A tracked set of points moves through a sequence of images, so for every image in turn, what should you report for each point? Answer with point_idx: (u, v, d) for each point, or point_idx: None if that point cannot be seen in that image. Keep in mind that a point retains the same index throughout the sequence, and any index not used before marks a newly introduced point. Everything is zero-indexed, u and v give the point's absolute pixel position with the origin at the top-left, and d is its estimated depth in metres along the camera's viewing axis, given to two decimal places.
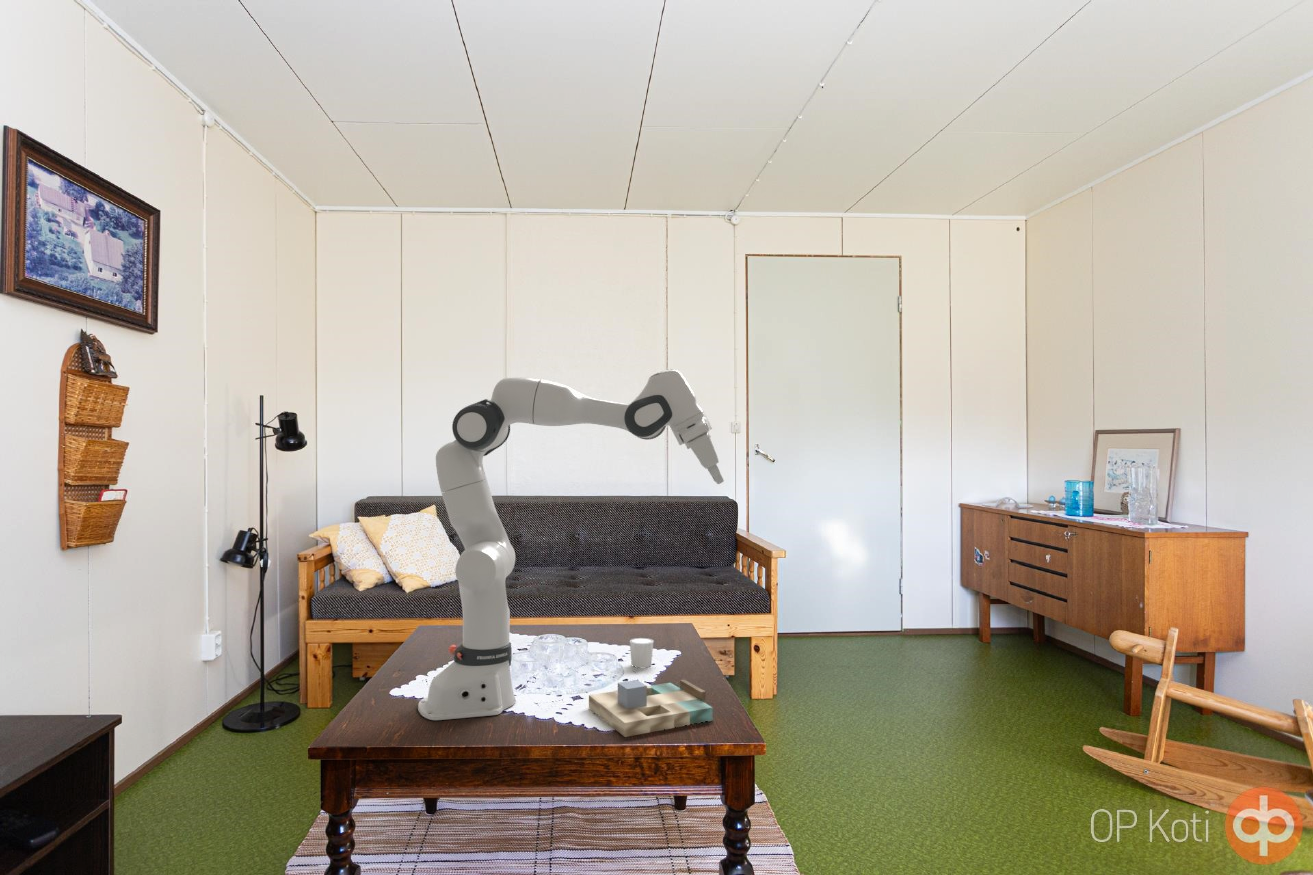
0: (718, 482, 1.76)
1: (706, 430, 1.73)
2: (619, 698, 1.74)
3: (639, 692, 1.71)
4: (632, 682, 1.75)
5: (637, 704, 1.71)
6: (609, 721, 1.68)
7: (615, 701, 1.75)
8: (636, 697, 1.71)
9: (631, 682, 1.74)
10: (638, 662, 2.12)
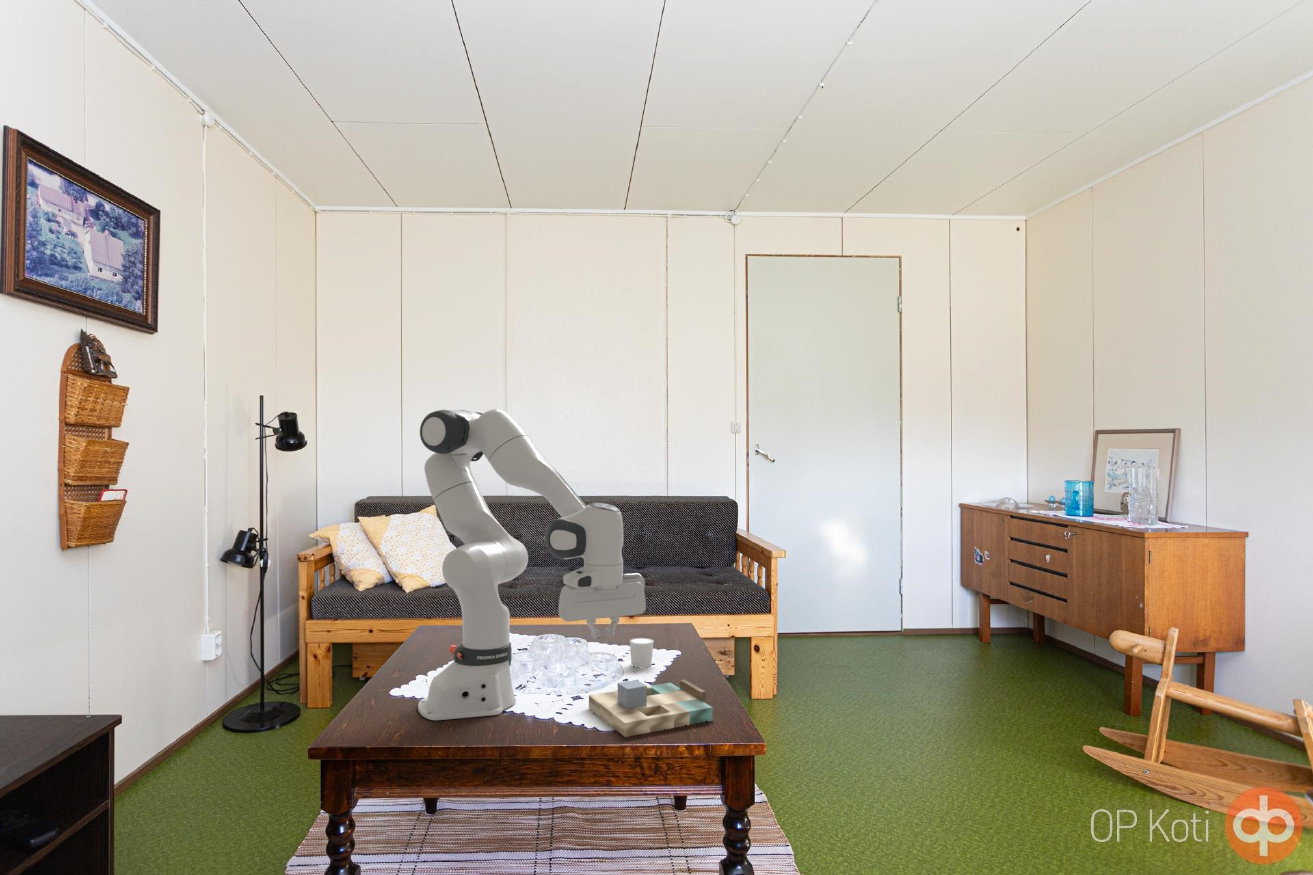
0: (591, 636, 1.69)
1: (572, 586, 1.64)
2: (619, 698, 1.74)
3: (639, 692, 1.71)
4: (632, 682, 1.75)
5: (637, 704, 1.71)
6: (609, 721, 1.68)
7: (615, 701, 1.75)
8: (636, 697, 1.71)
9: (631, 682, 1.74)
10: (638, 662, 2.12)
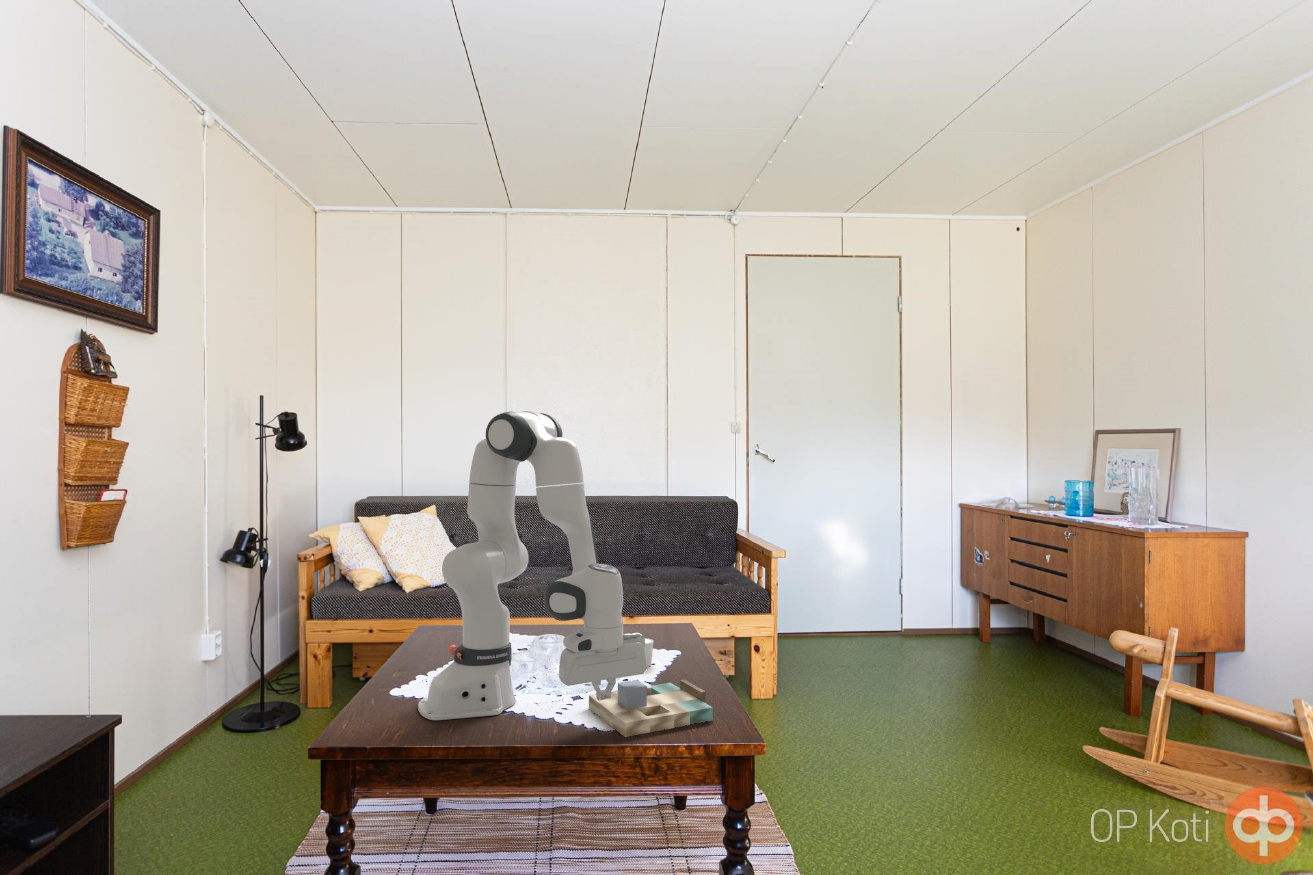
0: (597, 697, 1.69)
1: (572, 650, 1.64)
2: (619, 698, 1.74)
3: (639, 692, 1.71)
4: (632, 682, 1.75)
5: (637, 704, 1.71)
6: (609, 721, 1.68)
7: (615, 701, 1.75)
8: (636, 697, 1.71)
9: (631, 682, 1.74)
10: None
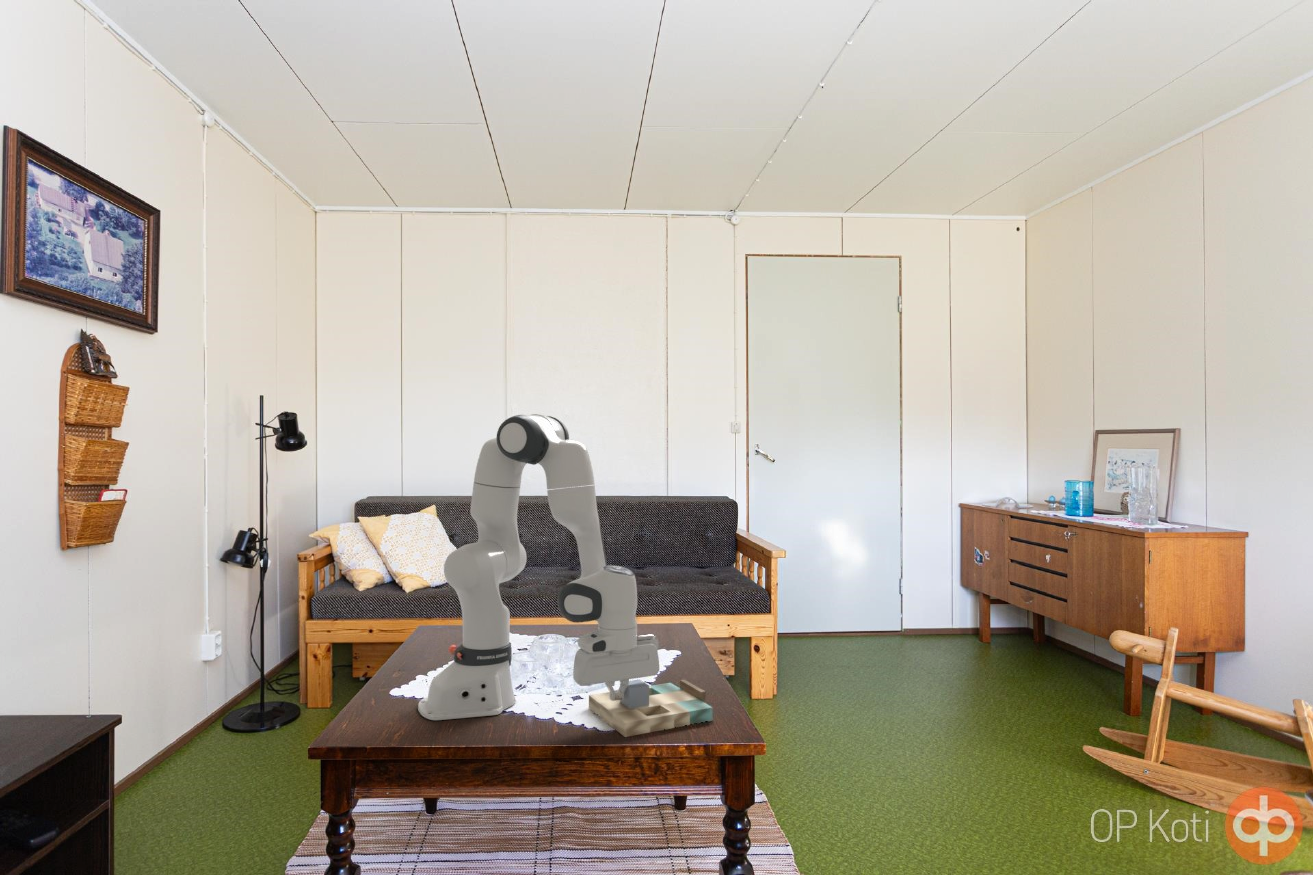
0: (610, 697, 1.71)
1: (587, 651, 1.65)
2: None
3: (642, 692, 1.72)
4: (635, 682, 1.75)
5: (639, 704, 1.71)
6: (609, 721, 1.68)
7: (615, 701, 1.75)
8: (638, 696, 1.71)
9: (633, 682, 1.75)
10: None
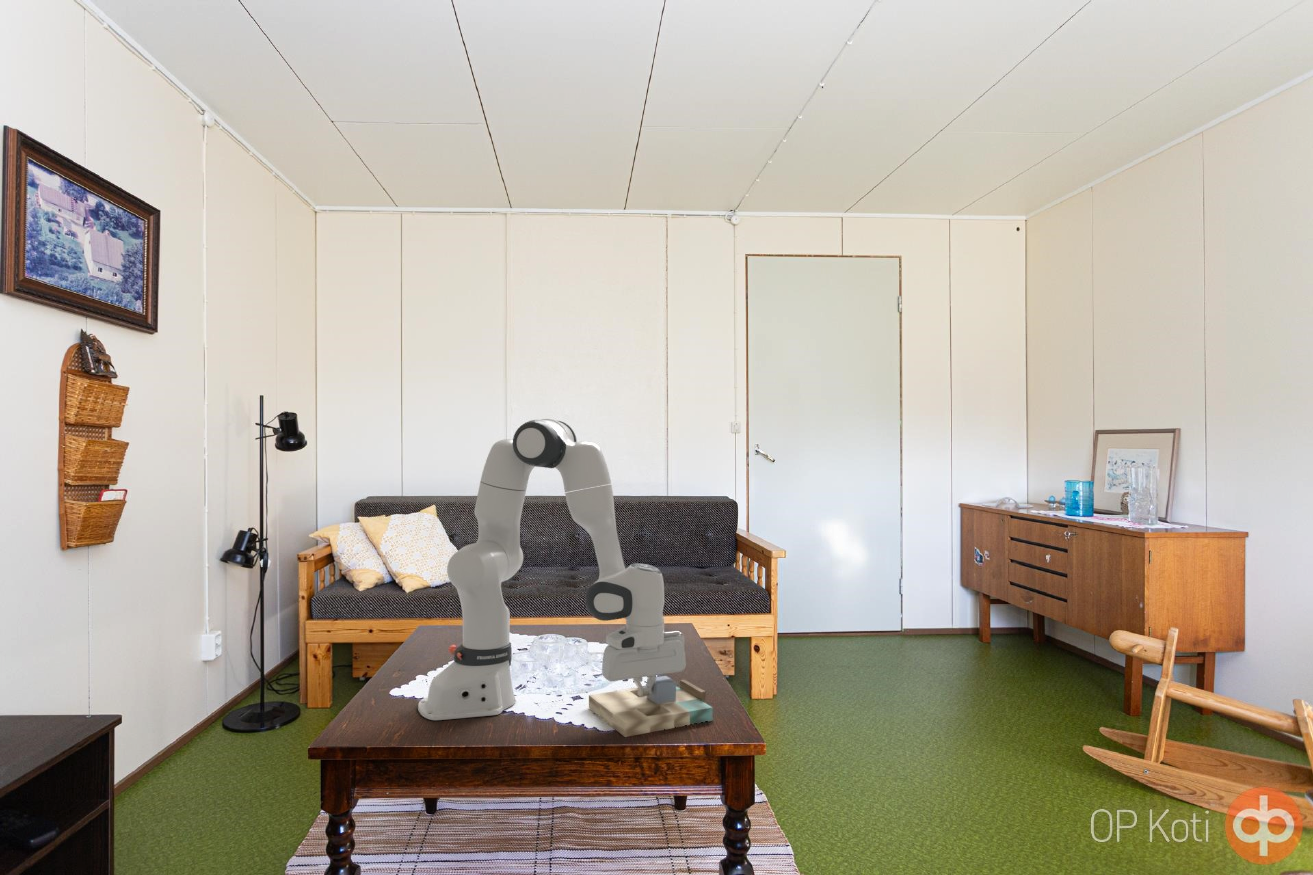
0: (638, 693, 1.74)
1: (616, 647, 1.69)
2: None
3: (668, 687, 1.75)
4: (661, 678, 1.78)
5: (666, 699, 1.75)
6: (609, 721, 1.68)
7: (615, 701, 1.75)
8: (665, 692, 1.74)
9: (660, 678, 1.78)
10: None
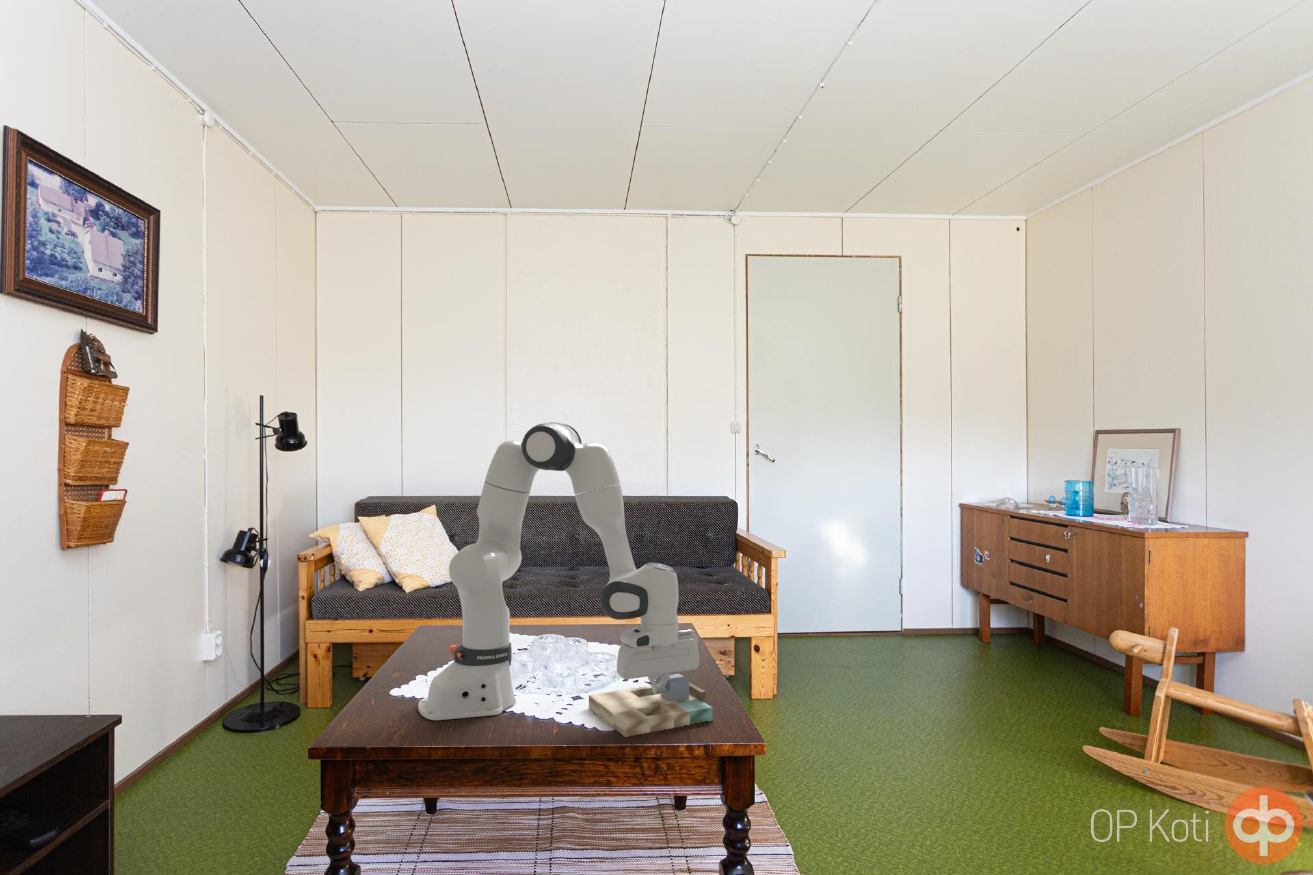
0: (652, 691, 1.76)
1: (631, 645, 1.70)
2: None
3: (682, 685, 1.77)
4: (675, 676, 1.80)
5: (680, 697, 1.76)
6: (609, 721, 1.68)
7: (615, 701, 1.75)
8: (679, 690, 1.76)
9: (673, 676, 1.80)
10: None
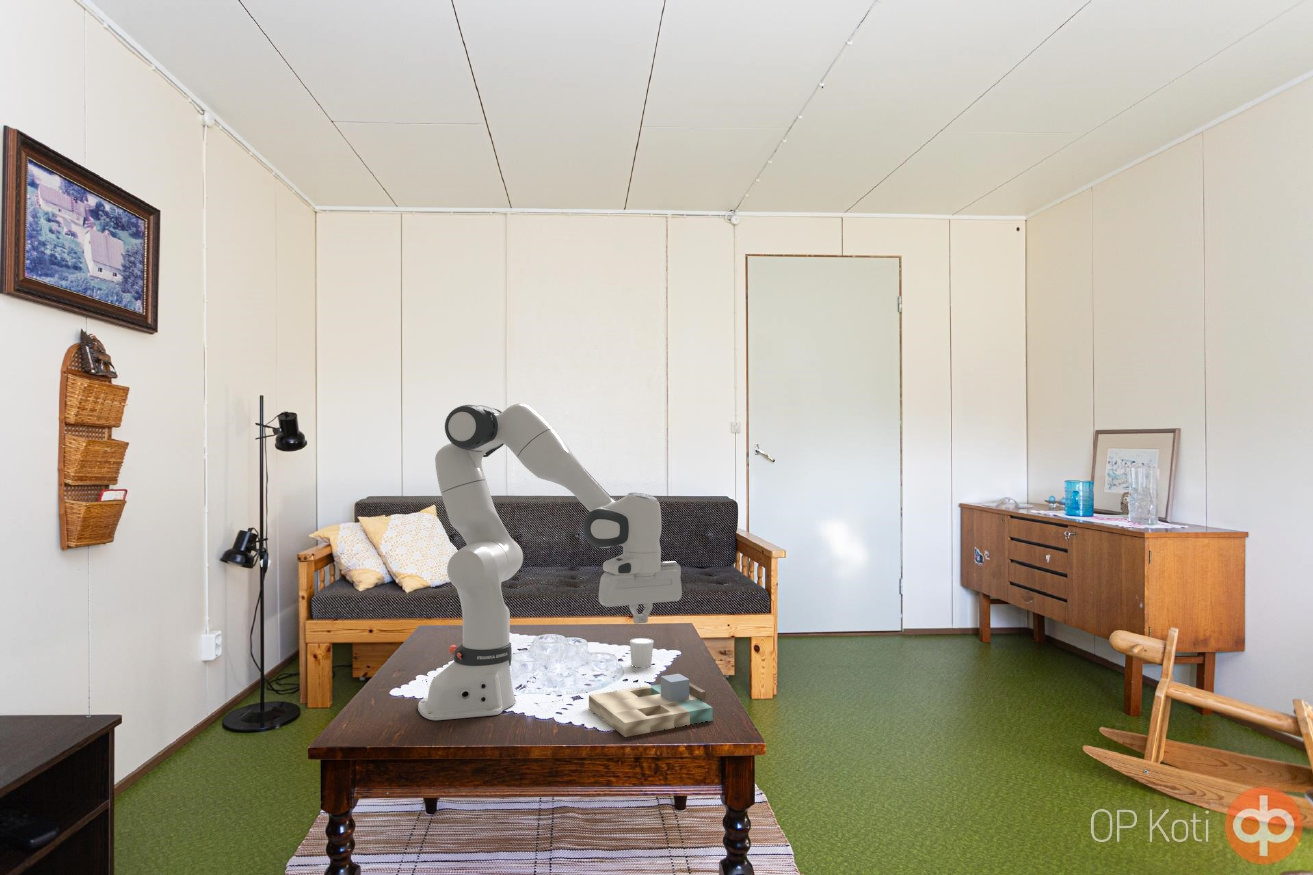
0: (634, 621, 1.75)
1: (613, 573, 1.69)
2: (662, 691, 1.79)
3: (682, 685, 1.77)
4: (675, 676, 1.80)
5: (680, 697, 1.76)
6: (609, 721, 1.68)
7: (615, 701, 1.75)
8: (679, 690, 1.76)
9: (673, 676, 1.80)
10: (638, 662, 2.12)
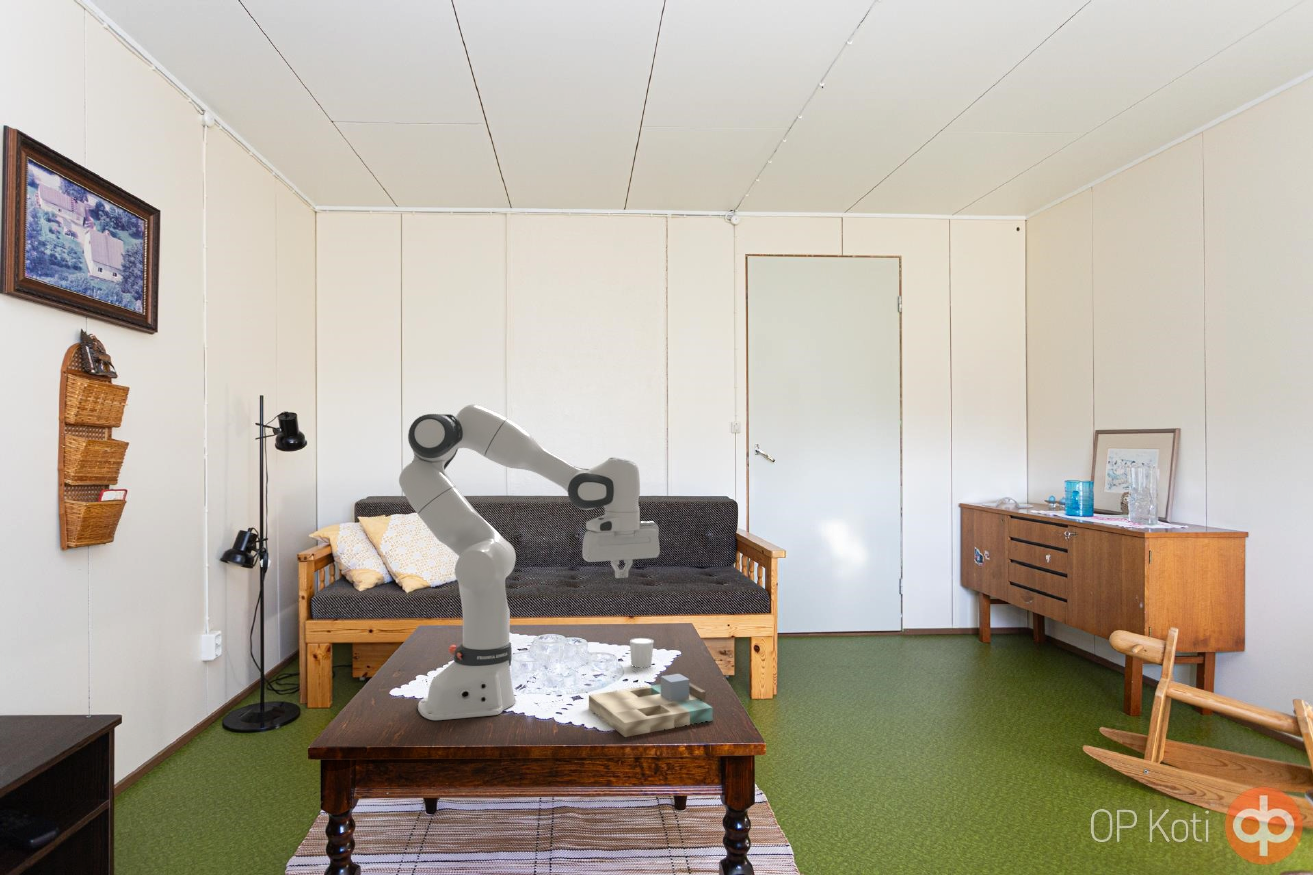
0: (615, 576, 1.90)
1: (595, 530, 1.84)
2: (662, 691, 1.79)
3: (682, 685, 1.77)
4: (675, 676, 1.80)
5: (680, 697, 1.76)
6: (609, 721, 1.68)
7: (615, 701, 1.75)
8: (679, 690, 1.76)
9: (673, 676, 1.80)
10: (638, 662, 2.12)
